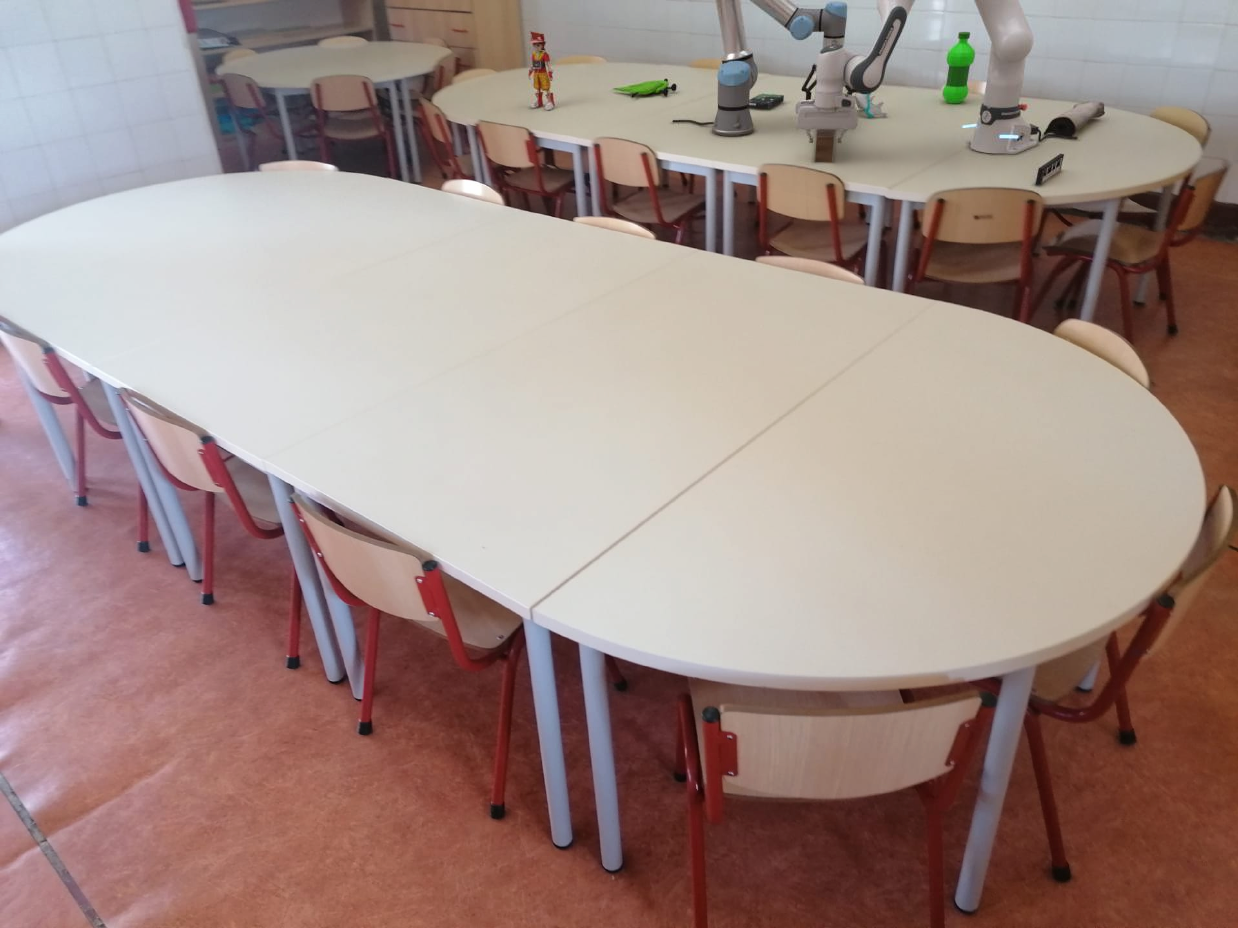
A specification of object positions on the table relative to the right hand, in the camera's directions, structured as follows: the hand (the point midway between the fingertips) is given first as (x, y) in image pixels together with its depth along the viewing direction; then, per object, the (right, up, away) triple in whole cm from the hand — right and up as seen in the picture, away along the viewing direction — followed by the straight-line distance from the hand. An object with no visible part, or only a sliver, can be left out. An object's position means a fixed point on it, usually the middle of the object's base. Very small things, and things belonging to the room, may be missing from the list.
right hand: (825, 142), depth 301 cm
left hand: (+9, +24, +34) cm, 43 cm away
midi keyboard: (+62, -20, -27) cm, 71 cm away
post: (+5, +8, +20) cm, 22 cm away
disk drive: (-10, +39, +65) cm, 76 cm away
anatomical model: (+27, +28, +46) cm, 60 cm away
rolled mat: (+92, +11, +16) cm, 94 cm away
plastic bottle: (+63, +35, +54) cm, 90 cm away
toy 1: (-102, +44, +82) cm, 138 cm away
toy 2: (-60, +57, +96) cm, 126 cm away
